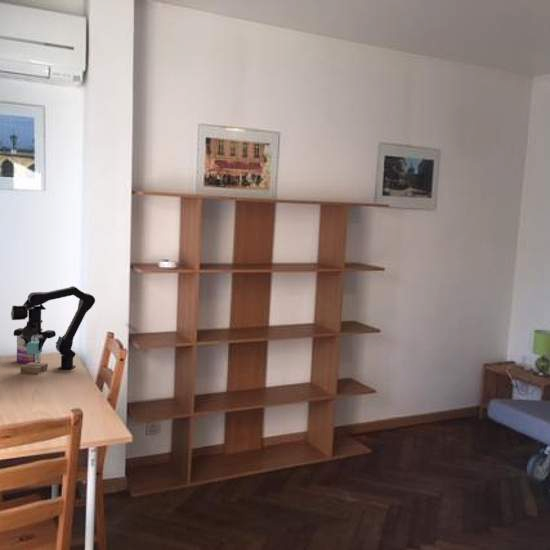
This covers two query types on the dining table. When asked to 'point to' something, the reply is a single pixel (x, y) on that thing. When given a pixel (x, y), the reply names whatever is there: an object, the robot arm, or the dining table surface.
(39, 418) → the dining table surface
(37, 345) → the teal cube
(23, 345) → the candy bar box
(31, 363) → the walnut base block
